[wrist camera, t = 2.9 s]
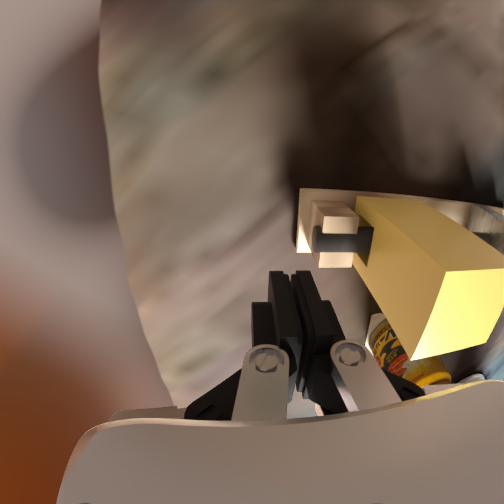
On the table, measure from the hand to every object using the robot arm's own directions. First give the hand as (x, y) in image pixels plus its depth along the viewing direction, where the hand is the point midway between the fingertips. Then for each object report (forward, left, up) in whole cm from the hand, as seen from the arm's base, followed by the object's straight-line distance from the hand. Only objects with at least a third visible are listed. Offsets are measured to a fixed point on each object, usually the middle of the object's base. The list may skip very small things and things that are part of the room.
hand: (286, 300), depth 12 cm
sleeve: (-9, 0, -10) cm, 13 cm away
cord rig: (-14, 0, -11) cm, 18 cm away
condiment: (-15, +13, -12) cm, 23 cm away
